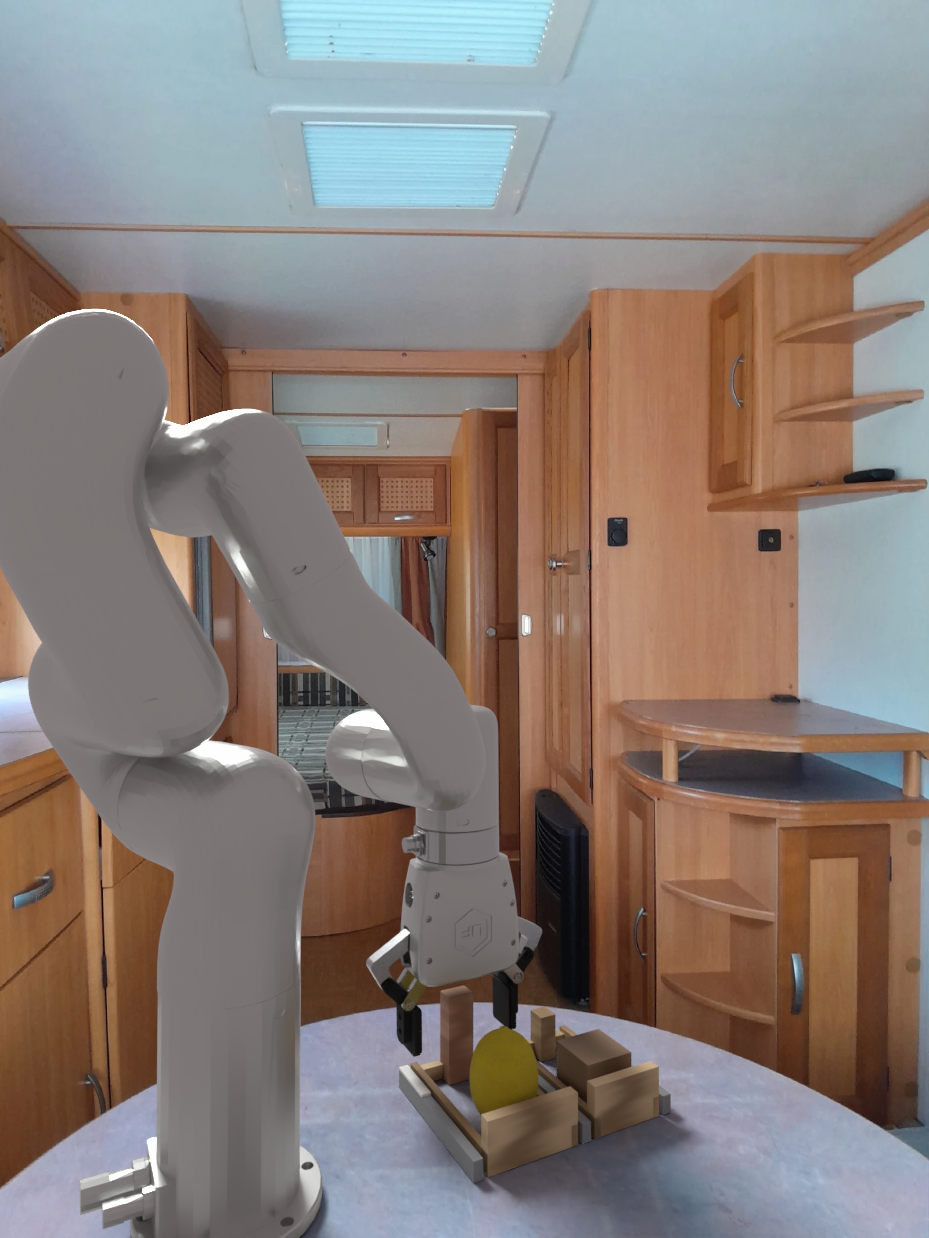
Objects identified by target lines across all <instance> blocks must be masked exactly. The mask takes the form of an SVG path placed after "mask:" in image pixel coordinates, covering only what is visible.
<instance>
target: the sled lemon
mask: <svg viewBox="0 0 929 1238" xmlns="http://www.w3.org/2000/svg"><path fill="white" fill-rule="evenodd" d="M439 993H440V997H439V998H440V1000H439V1001H440V1003H439V1011H440V1013H439V1014H440V1017H439V1020H440V1021H439V1023H440V1024H439V1026H440V1027H439V1028H440V1029H439V1030H440V1032H439V1041H440V1042H439V1050H440V1051H439V1052H440V1053H439V1055H440V1057H439V1060H435V1061H431V1062H428V1063H424V1064H421V1065H420V1064H419V1063H418V1061H415V1062H410V1066H409V1067H410V1068H411V1069H412V1071H413V1072H414V1073H415V1074H416V1075H417V1077H418V1078H419V1079H420V1080H421V1081H422V1083H423V1084H424V1085H425V1086H426V1087H427V1088H428V1090H429V1091H430V1092H431V1096H432V1097H433V1098H434V1100H435V1101H436V1102H437V1103H438V1105H439V1106H440V1107H441V1108H442V1109H443V1111H444V1112H445V1113H446V1114H447V1115H448V1117H449V1118H450V1119H451V1120H452V1121H453V1123H454V1124H455V1125H456V1126H457V1127H458V1129H459V1130H460V1131H461V1132H462V1133H463V1135H464V1136H465V1137H466V1138H467V1140H468V1141H469V1142H470V1143H471V1144H472V1146H473V1147H474V1148H475V1149H476V1150H477V1152H478V1153H479V1154H480V1155H481V1156H482V1158H483V1174H485V1176H486V1178H490V1177H493V1176H495V1175H498V1174H501V1173H504V1172H507V1171H509V1170H513V1169H515V1168H517V1167H521V1166H524V1165H526V1164H529V1163H533V1162H534V1161H535V1162H536V1161H537V1160H541V1159H543V1158H545V1157H548V1156H549V1157H550V1156H552V1155H554V1154H556V1153H560V1152H562V1151H565V1150H568V1149H571V1148H573V1147H576V1146H579V1140H578V1092H577V1091H575V1090H574V1089H573V1088H572V1087H571V1086H569V1087H566V1088H563V1089H560V1090H557V1091H553V1092H550V1093H547V1094H545V1093H544V1092H543V1091H542V1090H541V1089H540V1088H538V1093H537V1097H534V1098H531V1099H528V1100H525V1101H522V1102H519V1103H515V1104H512V1105H509V1106H506V1107H503V1108H500V1109H496V1110H493V1111H490V1112H487V1113H484V1114H480V1120H481V1121H480V1128H481V1129H480V1133H478V1131H477V1130H476V1129H475V1127H473V1125H472V1124H471V1123H470V1122H469V1121H468V1119H467V1118H466V1117H465V1115H463V1113H461V1111H460V1110H459V1109H458V1108H457V1107H456V1106H455V1104H454V1103H453V1102H452V1101H451V1099H450V1098H449V1097H448V1096H447V1095H446V1094H445V1093H444V1092H443V1090H442V1089H441V1088H440V1087H439V1086H438V1085H437V1083H435V1081H438V1080H441V1079H443V1080H444V1081H445V1082H446V1084H448V1086H451V1085H455V1084H458V1083H461V1082H465V1081H467V1080H468V1081H470V1076H469V1075H470V1065H471V1060H472V1056H473V1053H474V992H473V991H471V990H470V989H469V988H468V987H467V986H466V985H465V984H464V985H459V986H455V987H450V988H446V989H442V990H440V992H439Z"/></svg>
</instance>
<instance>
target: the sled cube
mask: <svg viewBox="0 0 929 1238" xmlns="http://www.w3.org/2000/svg"><path fill="white" fill-rule="evenodd" d="M575 1035H578V1033H576V1032H575V1031H573V1030H572V1029H571V1028H569V1027H568V1026H567V1025H565V1024H563V1025H559V1029H558V1030H557V1031H556V1013H555V1012H553V1011H552V1010H550V1009H549V1008H547V1007H546V1006H541V1007H537V1008H533V1009H530V1038H528V1039H527V1038H526V1040H527V1041H528V1042H529V1044H530V1045H531V1047H532V1050H533V1052H534V1055H535V1058H536V1062H537V1067H538V1074H539V1075H540V1076H541V1077H542V1078H543V1079H544V1080H545V1081H547V1082H548V1083H549V1084H550V1085H551V1086H552V1087H553V1088H554V1089H555V1090H560V1089H563V1088H566V1087H567V1086H566V1085H565V1084H563V1083H562V1082H561V1081H560V1080H559V1079H558V1078H557V1076H555V1075H554V1073H552V1072H551V1071H550V1070H548V1069H547V1068H546V1067H545V1066H544V1065H543V1064H541V1063H542V1062H545V1061H548V1060H552V1059H555V1058H556V1059H557V1040H561V1039H564V1038H568V1037H572V1036H575ZM540 1062H541V1063H540ZM632 1066H633V1067H629V1068H626V1069H623V1070H620V1071H617V1072H614V1073H610V1074H607V1075H604V1076H601V1077H598V1078H595V1079H591V1080H588V1081H587V1104H586V1103H585V1102H584V1101H583V1100H582V1099H581V1098H580V1097H578V1110H579V1111H580V1112H581V1113H582V1114H583V1115H584V1116H586V1117H587V1118H588V1119H589V1120H590V1121H591V1138H592V1139H595V1140H596V1139H599V1138H602V1137H604V1136H607V1135H610V1134H613V1133H616V1132H618V1131H620V1130H624V1129H627V1128H630V1127H632V1126H635V1125H637V1124H640V1123H643V1122H646V1121H649V1120H652V1119H655V1118H656V1117H657V1118H658V1117H659V1116H660V1112H659V1086H660V1080H659V1079H660V1078H659V1077H660V1066H659V1065H657V1064H656V1063H654V1062H653V1061H652V1060H649V1061H645V1062H642V1063H638V1064H636V1065H632Z"/></svg>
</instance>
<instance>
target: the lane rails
mask: <svg viewBox="0 0 929 1238" xmlns="http://www.w3.org/2000/svg"><path fill="white" fill-rule="evenodd" d="M398 1087H399V1089H400V1091H402V1093H404V1095H405V1096H406V1098H407V1099H408V1100H409V1102H410V1103H411V1104H412V1106H413V1107H414V1109H416V1111H417V1112H418V1113H419V1114H420V1116H421V1117H422V1119H423V1120H424V1121H425V1122H426V1124H427V1125H428V1126H429V1128H431V1130H432V1131H433V1133H434V1134H435V1135H436V1137H437V1138H438V1139H439V1140H440V1141H441V1143H442V1145H444V1147H445V1148H446V1150H448V1152H449V1154H450V1155H452V1157H453V1159H455V1161H456V1162H457V1163H458V1166H460V1168H461V1169H462V1170H463V1171H464V1173H465V1174H466V1176H467V1177H468V1178H469V1180H471V1182H472V1183H473V1184H475V1183H477V1182H480V1181H483V1180H484V1172H483V1158H482V1156H481V1155H480V1154H479V1153H478V1152H477V1150H476V1149H475V1148H474V1147H473V1146H472V1144H471V1143H470V1142H469V1141H468V1140H467V1138H466V1137H465V1136H464V1135H463V1133H462V1132H461V1131H460V1130H459V1129H458V1127H457V1126H456V1125H455V1124H454V1123H453V1121H452V1120H451V1119H450V1118H449V1117H448V1115H447V1114H446V1113H445V1112H444V1111H443V1109H442V1108H441V1107H440V1106H439V1105H438V1103H437V1102H436V1101H435V1100H434V1098H433V1097H432V1096H431V1092H430V1091H429V1090H428V1088H427V1087H426V1086H425V1085H424V1084H423V1083H422V1081H421V1080H420V1079H419V1078H418V1077H417V1075H416V1074H415V1073H414V1072H413V1071H412V1069H411V1068H410V1066H409V1064H406V1065H401V1066H399V1067H398ZM538 1088H540V1089H541V1090H542V1091H543V1092H544V1093H545V1094H547V1093H550V1092H553V1091H557V1090H555V1089H554V1088H553V1087H552V1086H551V1085H550V1084H549V1083H548V1082H547V1081H545V1080H544V1079H543V1078H542V1077H541V1076H540V1075H539V1074H538ZM591 1141H592V1136H591V1121H590V1120H589V1119H588V1118H587V1117H586V1116H584V1115H583V1114H582V1113H581V1112H580V1111H579V1110H578V1142H580V1143H581V1144H586V1143H588V1142H589V1143H590V1142H591Z"/></svg>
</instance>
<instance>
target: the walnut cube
mask: <svg viewBox="0 0 929 1238" xmlns="http://www.w3.org/2000/svg"><path fill="white" fill-rule="evenodd" d="M631 1065H632V1051H631V1050H629V1049H628V1048H627V1047H625V1046H624V1045H622V1044H621V1043H619V1042H617V1041H616V1039H613V1038H612V1037H611V1036H610V1035H608V1034H606V1033H605V1032H604V1031H603V1030H601V1029H599V1028H597V1029H593V1030H590V1031H586V1032H583V1033H580V1034H577V1035H575V1036H572V1037H568V1038H564V1039H561V1040H557V1049H556V1077H557V1078H558V1079H559V1080H560V1081H561V1082H562V1083H563V1084H565V1085H566V1086H567V1087H569V1086H571V1087H572V1088H573V1089H574V1090H575V1091H577V1092H578V1097H580V1098H581V1099H582V1100H583V1101H584V1102H585V1103H586V1104H587V1081H588V1080H591V1079H595V1078H598V1077H601V1076H604V1075H607V1074H610V1073H614V1072H617V1071H620V1070H623V1069H626V1068H629V1067H631Z"/></svg>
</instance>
